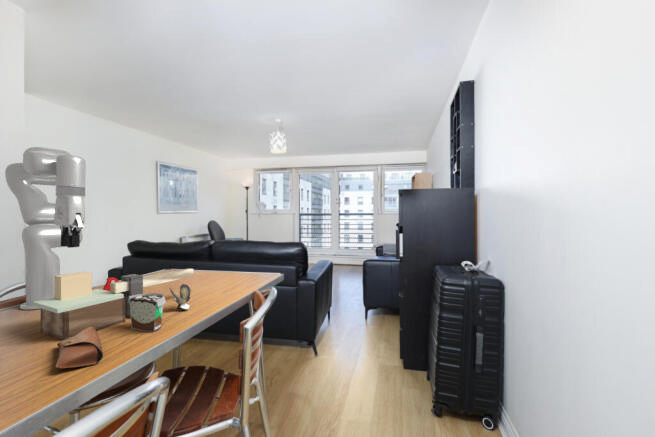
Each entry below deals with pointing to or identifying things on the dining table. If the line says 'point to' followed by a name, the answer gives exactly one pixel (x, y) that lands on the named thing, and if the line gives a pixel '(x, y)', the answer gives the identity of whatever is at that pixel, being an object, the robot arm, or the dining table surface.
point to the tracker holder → (107, 285)
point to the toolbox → (91, 313)
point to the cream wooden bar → (153, 280)
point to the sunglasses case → (80, 350)
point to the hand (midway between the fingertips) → (70, 246)
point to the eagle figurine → (182, 297)
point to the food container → (146, 311)
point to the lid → (75, 293)
